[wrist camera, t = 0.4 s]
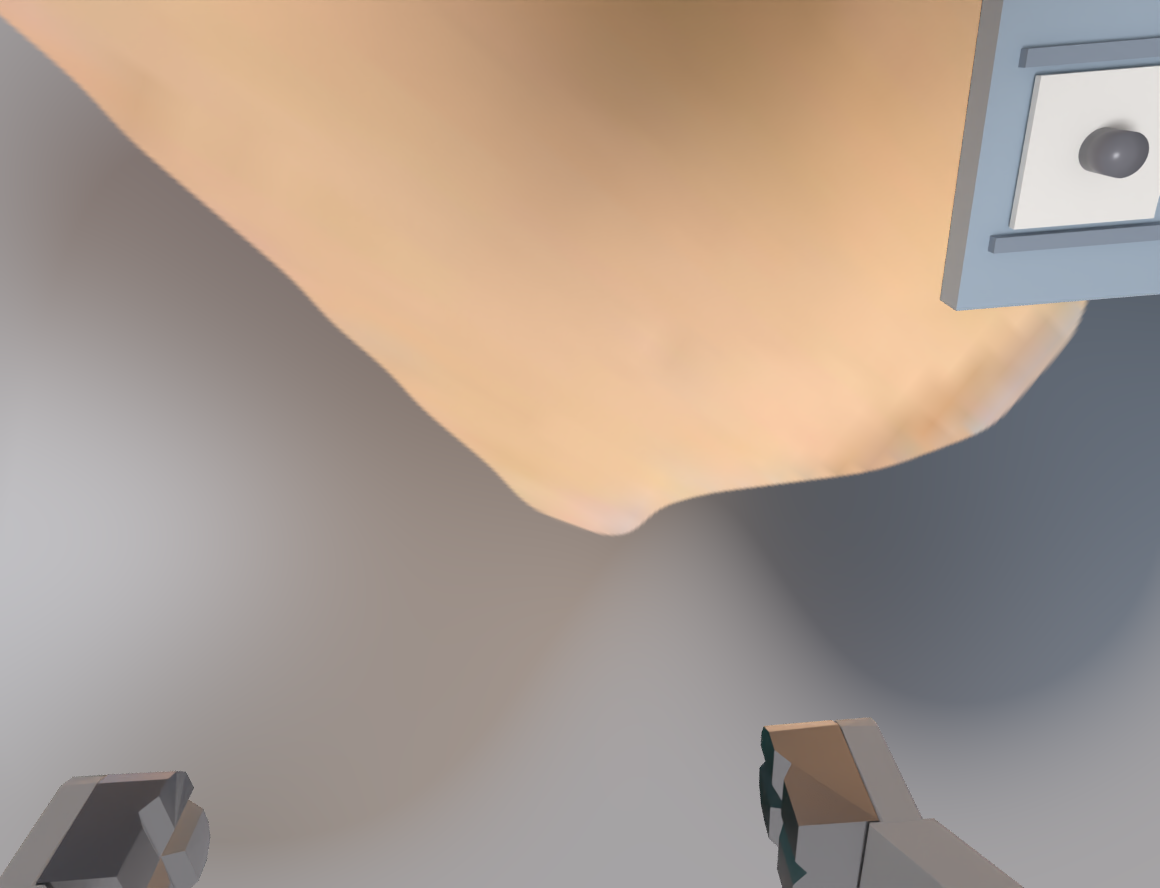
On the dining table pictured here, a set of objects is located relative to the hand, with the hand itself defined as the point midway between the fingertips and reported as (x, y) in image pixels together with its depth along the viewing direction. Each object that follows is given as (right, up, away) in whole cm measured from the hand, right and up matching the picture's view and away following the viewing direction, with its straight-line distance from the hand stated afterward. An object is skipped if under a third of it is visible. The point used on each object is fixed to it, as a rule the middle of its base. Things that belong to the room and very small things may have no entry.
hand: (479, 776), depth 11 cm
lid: (+34, +23, +38) cm, 56 cm away
